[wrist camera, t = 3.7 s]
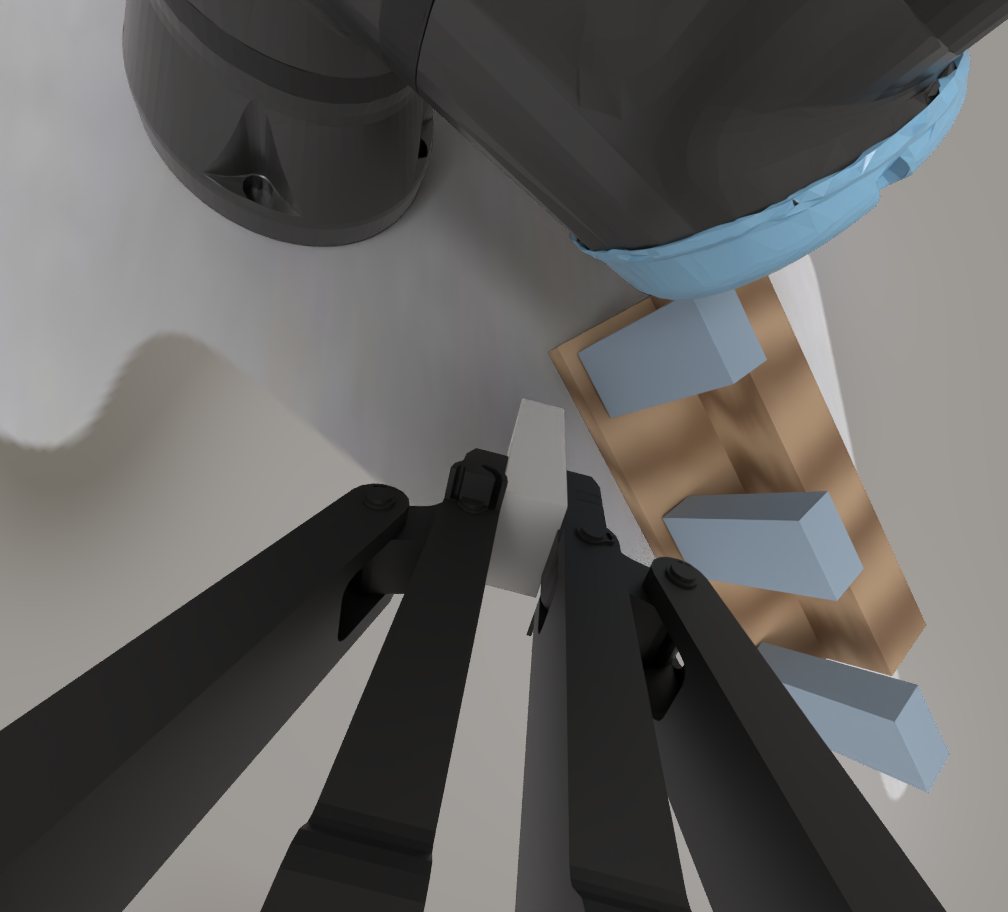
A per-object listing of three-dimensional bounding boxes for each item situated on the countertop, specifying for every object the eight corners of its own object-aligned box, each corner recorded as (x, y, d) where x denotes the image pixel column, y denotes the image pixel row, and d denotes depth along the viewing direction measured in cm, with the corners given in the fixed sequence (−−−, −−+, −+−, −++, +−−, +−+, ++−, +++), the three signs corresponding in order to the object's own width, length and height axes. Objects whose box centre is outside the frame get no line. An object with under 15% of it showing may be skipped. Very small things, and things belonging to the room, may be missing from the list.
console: (548, 352, 33) (599, 321, 28) (693, 273, 40) (758, 236, 35) (748, 734, 37) (827, 772, 32) (850, 605, 44) (930, 618, 39)
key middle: (662, 517, 34) (798, 520, 25) (688, 495, 35) (828, 490, 26) (693, 577, 35) (837, 601, 26) (717, 553, 36) (863, 568, 27)
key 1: (740, 668, 36) (894, 721, 27) (762, 642, 37) (918, 685, 28) (767, 722, 36) (928, 793, 27) (789, 694, 38) (949, 753, 28)
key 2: (577, 353, 33) (690, 292, 23) (607, 335, 34) (726, 272, 25) (610, 418, 33) (733, 384, 24) (639, 399, 34) (767, 359, 25)
